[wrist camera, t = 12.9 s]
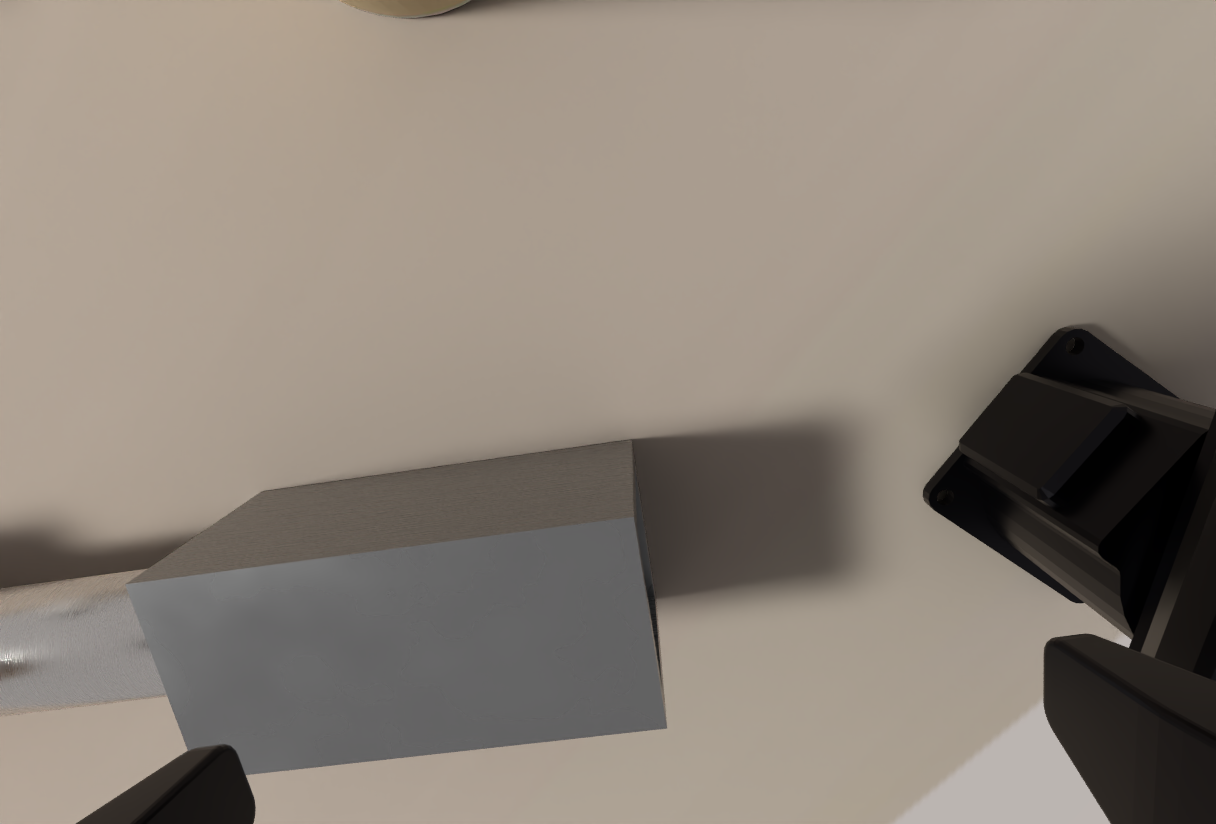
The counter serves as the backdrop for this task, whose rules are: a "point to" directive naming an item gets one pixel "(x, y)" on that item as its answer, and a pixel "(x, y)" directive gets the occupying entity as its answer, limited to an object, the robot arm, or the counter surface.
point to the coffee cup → (405, 7)
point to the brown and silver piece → (73, 646)
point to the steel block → (414, 614)
